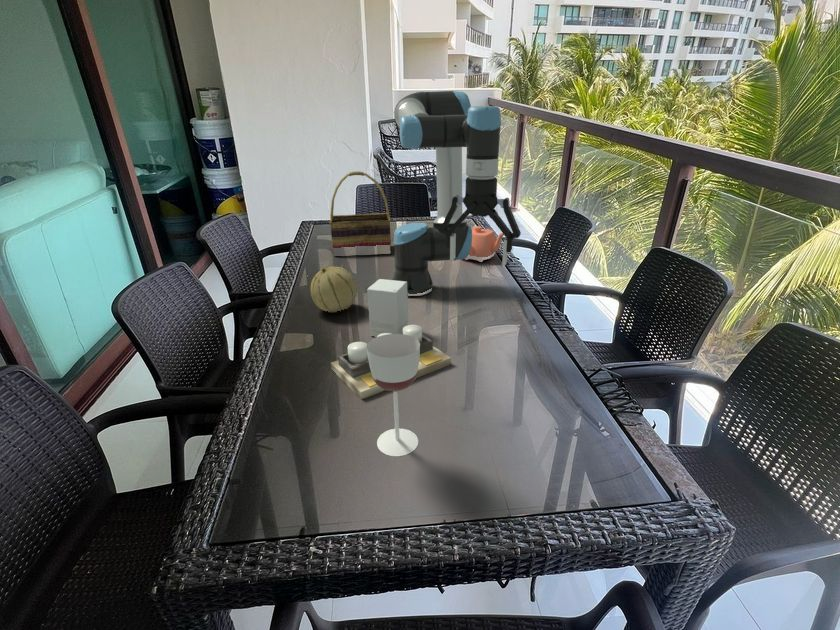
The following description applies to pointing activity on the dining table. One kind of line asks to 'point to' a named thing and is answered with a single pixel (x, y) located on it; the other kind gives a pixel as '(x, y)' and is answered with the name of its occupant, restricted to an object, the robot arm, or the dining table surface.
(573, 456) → the dining table surface
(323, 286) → the cantaloupe
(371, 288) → the supplement box
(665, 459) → the dining table surface
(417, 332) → the button
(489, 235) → the teapot
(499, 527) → the dining table surface
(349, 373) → the board
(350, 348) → the button
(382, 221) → the basket
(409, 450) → the wineglass
